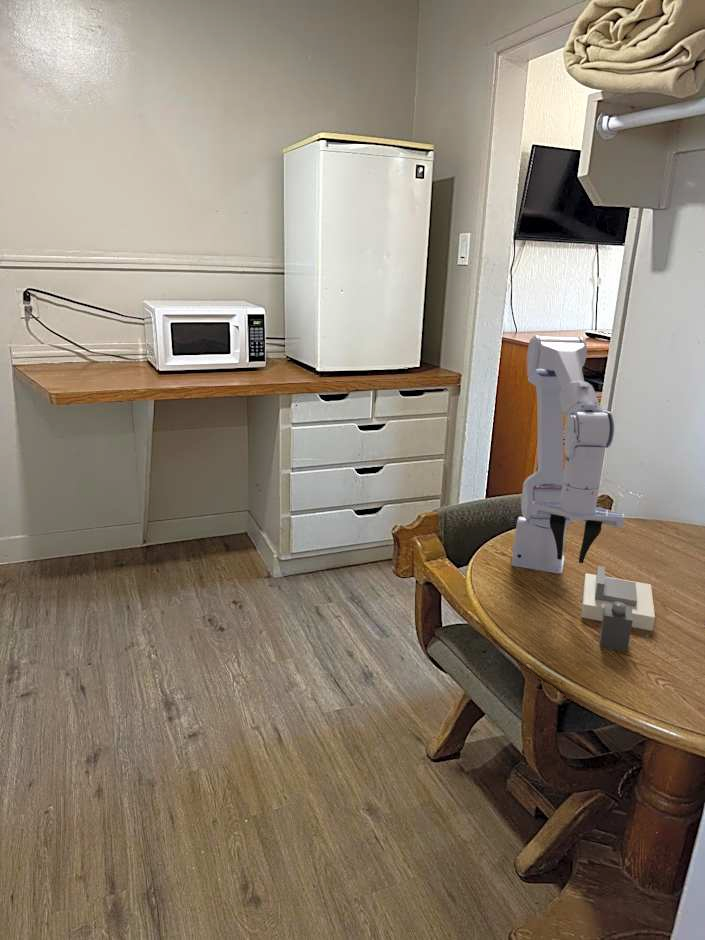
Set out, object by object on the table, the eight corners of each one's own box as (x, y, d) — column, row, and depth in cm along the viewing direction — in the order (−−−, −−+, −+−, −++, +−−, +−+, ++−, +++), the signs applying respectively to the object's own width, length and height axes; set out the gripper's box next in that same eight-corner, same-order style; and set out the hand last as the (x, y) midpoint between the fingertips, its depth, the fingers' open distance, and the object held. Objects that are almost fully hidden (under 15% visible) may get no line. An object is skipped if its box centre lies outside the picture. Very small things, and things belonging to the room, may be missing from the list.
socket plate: (581, 617, 112) (583, 604, 112) (583, 585, 123) (585, 573, 122) (652, 630, 109) (654, 617, 108) (648, 596, 120) (650, 584, 119)
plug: (599, 646, 104) (605, 608, 102) (599, 633, 108) (605, 596, 106) (627, 652, 103) (633, 613, 101) (626, 638, 107) (633, 601, 105)
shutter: (594, 598, 113) (597, 582, 112) (595, 580, 120) (597, 565, 119) (636, 606, 111) (639, 590, 110) (634, 587, 118) (637, 572, 117)
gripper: (533, 485, 109) (524, 561, 113) (629, 498, 104) (615, 576, 108) (537, 472, 115) (528, 544, 119) (627, 483, 110) (615, 558, 115)
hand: (570, 558), depth 114 cm, fingers open, 3 cm apart
